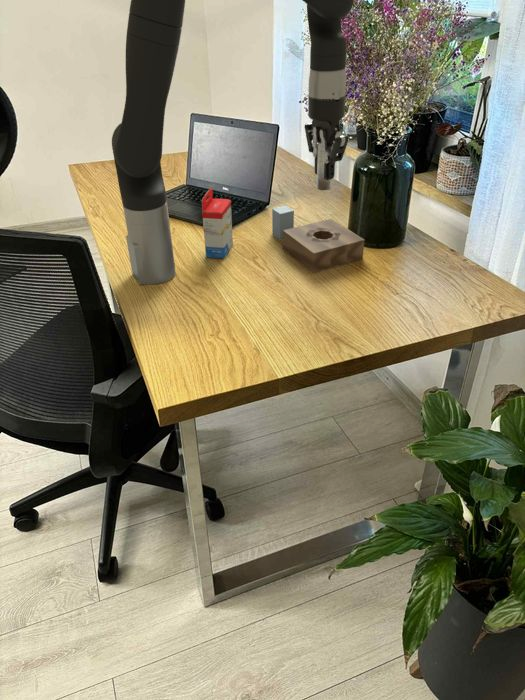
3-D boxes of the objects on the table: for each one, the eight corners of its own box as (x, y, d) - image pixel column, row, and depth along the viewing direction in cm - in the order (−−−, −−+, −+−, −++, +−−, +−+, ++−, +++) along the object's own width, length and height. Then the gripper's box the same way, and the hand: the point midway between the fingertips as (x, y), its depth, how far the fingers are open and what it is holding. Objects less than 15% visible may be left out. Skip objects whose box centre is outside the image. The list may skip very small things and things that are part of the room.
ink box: (225, 259, 131) (221, 200, 122) (205, 257, 132) (200, 199, 123) (233, 243, 137) (230, 187, 129) (214, 242, 138) (210, 185, 129)
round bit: (321, 191, 121) (323, 145, 115) (314, 186, 123) (315, 141, 117) (333, 188, 122) (335, 142, 116) (325, 184, 124) (327, 139, 118)
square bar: (279, 239, 139) (280, 213, 135) (272, 234, 142) (272, 208, 138) (293, 236, 140) (293, 210, 136) (285, 230, 143) (285, 205, 139)
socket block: (312, 272, 125) (313, 253, 122) (282, 249, 135) (282, 230, 132) (362, 259, 130) (364, 239, 127) (330, 236, 140) (331, 218, 137)
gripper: (293, 89, 114) (293, 170, 125) (331, 102, 104) (327, 189, 115) (323, 84, 117) (321, 164, 128) (362, 96, 107) (356, 182, 117)
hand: (324, 176), depth 121 cm, fingers closed on round bit, 3 cm apart
